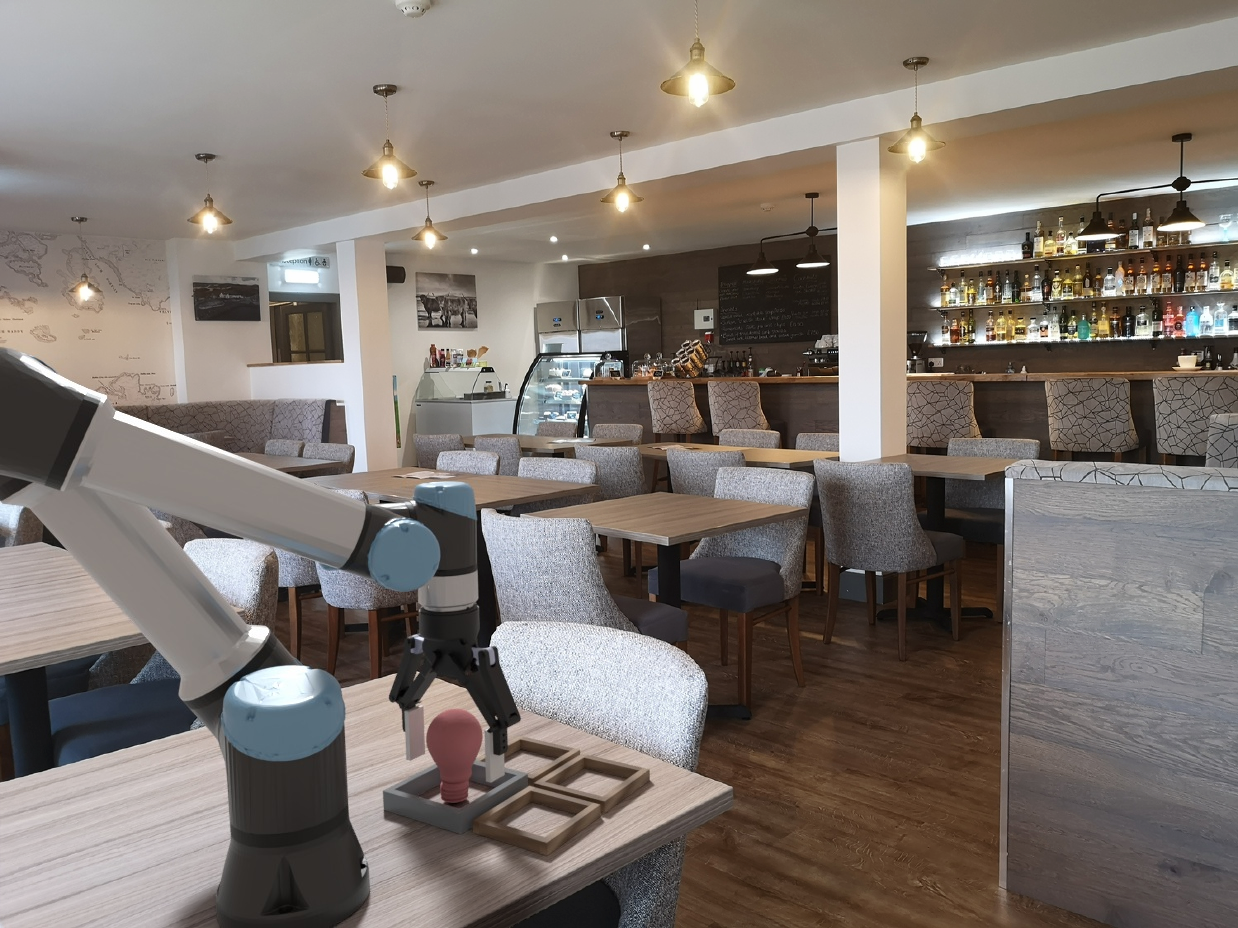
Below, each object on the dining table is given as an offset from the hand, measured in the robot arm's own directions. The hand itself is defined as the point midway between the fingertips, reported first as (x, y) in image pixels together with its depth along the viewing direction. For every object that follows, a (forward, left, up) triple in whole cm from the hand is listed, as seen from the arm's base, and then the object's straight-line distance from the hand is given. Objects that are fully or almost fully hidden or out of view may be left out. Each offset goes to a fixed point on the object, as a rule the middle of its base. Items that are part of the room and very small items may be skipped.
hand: (454, 767), depth 119 cm
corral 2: (+13, -1, -4) cm, 14 cm away
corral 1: (0, 0, -4) cm, 5 cm away
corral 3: (0, -13, -4) cm, 14 cm away
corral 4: (+12, -13, -4) cm, 18 cm away
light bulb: (0, 0, -5) cm, 5 cm away
